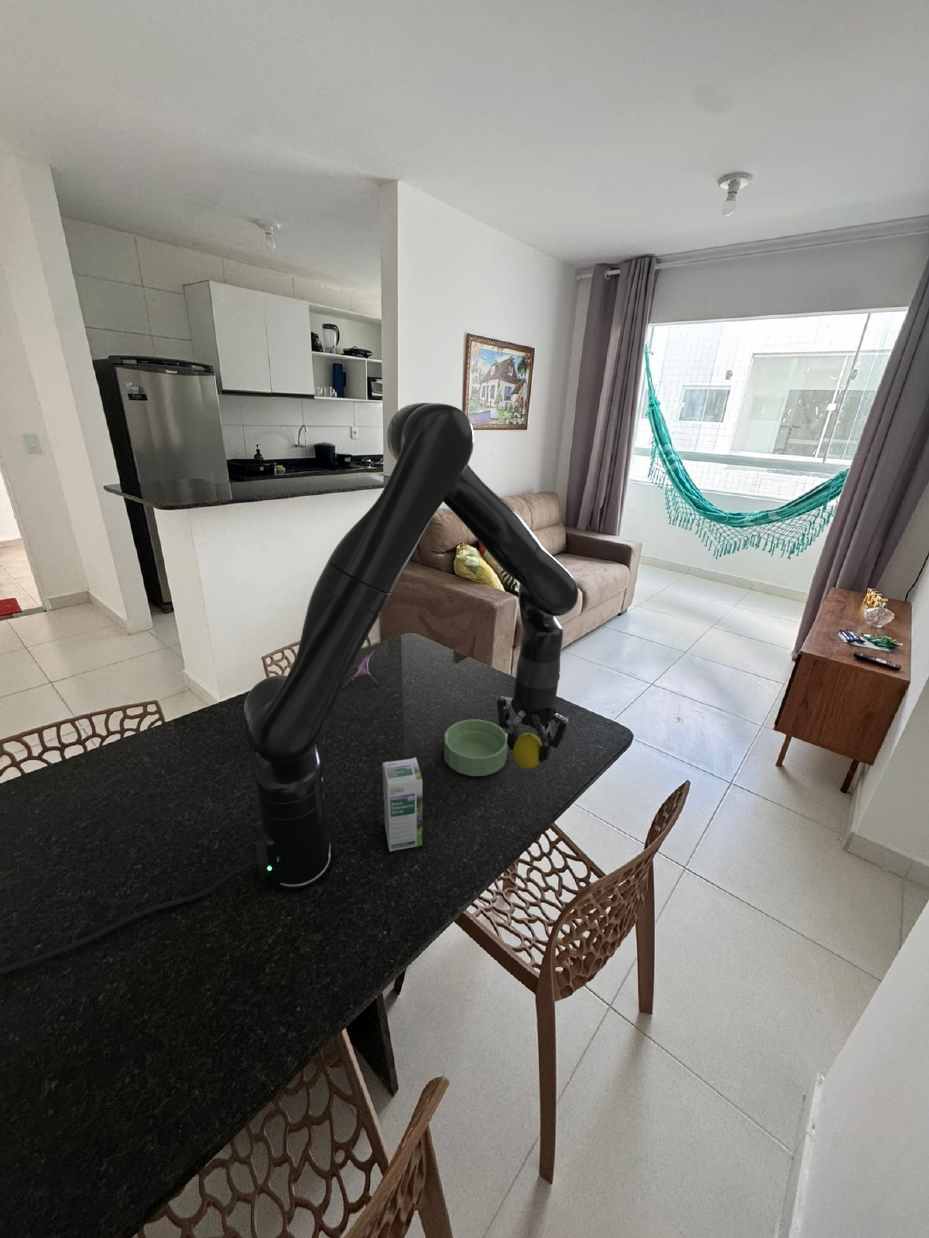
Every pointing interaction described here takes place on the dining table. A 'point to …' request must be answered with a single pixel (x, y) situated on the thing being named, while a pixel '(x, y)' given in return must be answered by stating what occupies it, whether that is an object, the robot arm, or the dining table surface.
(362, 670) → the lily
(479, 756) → the bowl
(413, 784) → the syrup box
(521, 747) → the lemon
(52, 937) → the dining table surface
